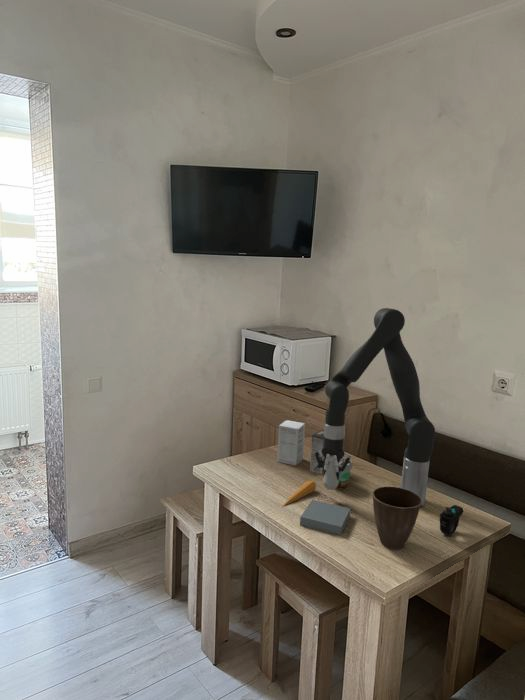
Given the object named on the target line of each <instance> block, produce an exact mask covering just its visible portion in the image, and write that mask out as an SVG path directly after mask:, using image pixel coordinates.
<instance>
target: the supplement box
mask: <svg viewBox="0 0 525 700" xmlns="http://www.w3.org/2000/svg"><path fill="white" fill-rule="evenodd" d="M305 430H306V423H304V422H298V421H294V420H288V419H287V420H284V421H283V422H282V423H280V424H279V426H278V434H277V435H278V436H277V438H278V439H277V454H276V455H277V456H276V461H278V462H279V463H282V464H287V465H292V466H297V465H299V464H300V463H301V462H302V461H303V460H304V454H305V453H304V450H305V434H306V431H305Z"/></svg>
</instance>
